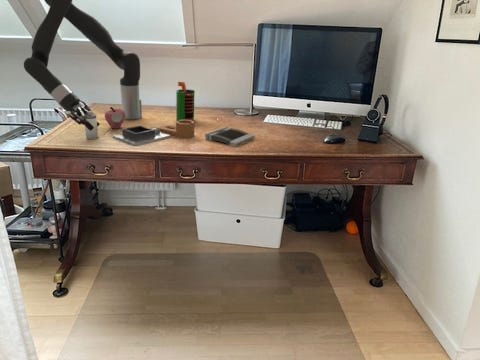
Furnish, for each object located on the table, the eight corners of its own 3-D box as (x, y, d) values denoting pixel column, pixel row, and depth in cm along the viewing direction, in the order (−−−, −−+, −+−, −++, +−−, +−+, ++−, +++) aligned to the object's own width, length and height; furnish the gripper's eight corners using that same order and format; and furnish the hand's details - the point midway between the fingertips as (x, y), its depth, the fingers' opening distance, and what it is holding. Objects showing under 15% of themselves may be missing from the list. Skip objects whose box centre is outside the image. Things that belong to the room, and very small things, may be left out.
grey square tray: (226, 126, 189) (255, 129, 181) (226, 135, 190) (255, 139, 182) (205, 133, 175) (235, 137, 167) (205, 143, 177) (235, 147, 169)
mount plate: (149, 129, 186) (149, 121, 185) (171, 137, 177) (171, 128, 175) (112, 137, 172) (112, 128, 171) (134, 145, 163) (133, 136, 161)
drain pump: (94, 135, 173) (91, 109, 169) (100, 137, 170) (98, 111, 166) (83, 137, 170) (81, 111, 165) (89, 140, 167) (87, 113, 162)
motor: (190, 123, 201) (190, 84, 193) (173, 122, 202) (172, 83, 194) (196, 119, 210) (196, 81, 202) (180, 117, 211) (179, 80, 204)
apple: (106, 130, 181) (105, 109, 178) (104, 126, 189) (102, 105, 185) (127, 129, 185) (126, 108, 182) (124, 124, 193) (123, 104, 189)
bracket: (197, 136, 182) (197, 121, 179) (187, 140, 175) (187, 125, 172) (167, 129, 189) (167, 115, 187) (156, 133, 183) (155, 118, 180)
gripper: (61, 94, 157) (93, 126, 160) (78, 89, 170) (107, 118, 174) (50, 107, 159) (82, 137, 163) (68, 100, 172) (97, 128, 176)
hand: (95, 127), depth 168 cm, fingers closed on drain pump, 5 cm apart
